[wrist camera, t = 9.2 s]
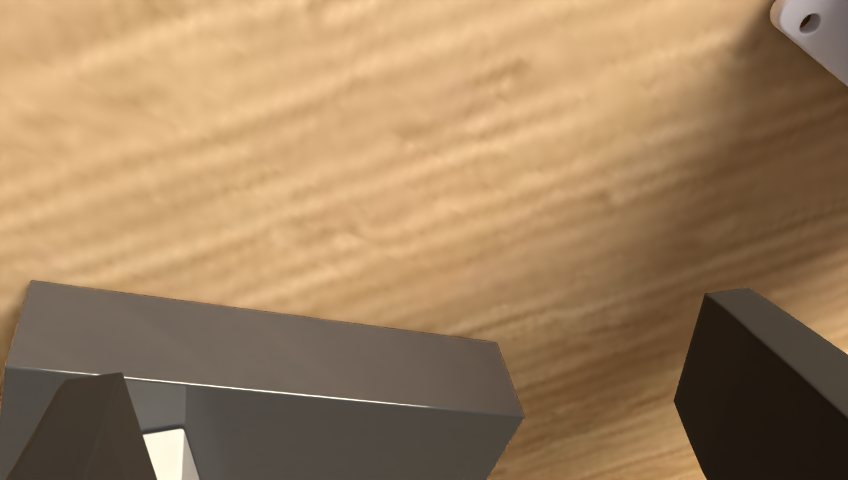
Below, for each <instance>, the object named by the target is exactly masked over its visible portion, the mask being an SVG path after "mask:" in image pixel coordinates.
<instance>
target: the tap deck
mask: <svg viewBox="0 0 848 480" xmlns="http://www.w3.org/2000/svg"><path fill="white" fill-rule="evenodd" d="M118 372H122V373H123V376H124V379H125V382H126V385H127V388H128V391H129V395H130V398H131V401H132V404H133V407H134V410H135V413H136V416H137V419H138V422H139V425H140V428H141V431H142V434H143V435H144V434H150V433H156V432H162V431H169V430H175V429H183V430H184V432H185V435H186V438H187V441H188V444H189V448H190V451H191V454H192V457H193V460H194V464H195V467H196V470H197V473H198V476H199V480H487V479H488V478H489V476H490V474H491V473H492V471H493V469H494V468H495V466H496V464H497V463H498V461H499V460H500V458H501V456H502V455H503V453H504V451H505V450H506V448H507V446H508V445H509V443H510V441H511V440H512V438H513V437H514V435H515V433H516V432H517V430H518V428H519V427H520V425H521V423H522V422H523V420H524V418H525V415H524V413H523V410H522V407H521V405H520V402H519V399H518V397H517V394H516V391H515V389H514V386H513V384H512V381H511V378H510V376H509V373H508V370H507V368H506V365H505V362H504V360H503V357H502V354H501V352H500V349H499V347H498V344H497V343H496V342H491V341H484V340H476V339H469V338H461V337H454V336H446V335H439V334H431V333H424V332H416V331H409V330H401V329H394V328H386V327H379V326H371V325H364V324H356V323H349V322H341V321H334V320H326V319H319V318H311V317H304V316H296V315H289V314H281V313H274V312H266V311H259V310H251V309H244V308H236V307H229V306H221V305H214V304H206V303H199V302H191V301H184V300H176V299H169V298H161V297H154V296H146V295H139V294H131V293H124V292H116V291H109V290H101V289H94V288H86V287H79V286H72V285H64V284H57V283H49V282H42V281H34V280H32V281H30V282H29V285H28V289H27V292H26V295H25V299H24V302H23V305H22V309H21V312H20V315H19V319H18V322H17V325H16V329H15V332H14V335H13V338H12V342H11V345H10V348H9V352H8V355H7V358H6V362H5V365H4V373H3V383H2V394H1V405H0V480H6V478H7V477H8V475H9V473H10V472H11V470H12V468H13V467H14V465H15V463H16V462H17V460H18V458H19V457H20V455H21V453H22V452H23V450H24V448H25V446H26V445H27V443H28V441H29V440H30V438H31V436H32V434H33V433H34V431H35V429H36V427H37V426H38V424H39V422H40V420H41V418H42V417H43V415H44V413H45V411H46V410H47V408H48V406H49V404H50V402H51V401H52V399H53V397H54V395H55V393H56V392H57V390H58V388H59V387H60V386H61V385H62V384H63V383H64V381H65V380H66V379H73V378H80V377H88V376H95V375H103V374H110V373H118Z"/></svg>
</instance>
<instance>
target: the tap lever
mask: <svg viewBox="0 0 848 480" xmlns="http://www.w3.org/2000/svg"><path fill="white" fill-rule="evenodd" d="M143 437H144V440H145V443H146V447H147V450H148V453H149V456H150V459H151V462H152V465H153V468H154V471H155V474H156V477H157V480H199V476H198V473H197V470H196V467H195V464H194V460H193V457H192V454H191V451H190V448H189V444H188V441H187V438H186V435H185V432H184V430H183V429H175V430H169V431H162V432H156V433H150V434H144V435H143Z"/></svg>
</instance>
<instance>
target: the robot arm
mask: <svg viewBox="0 0 848 480" xmlns="http://www.w3.org/2000/svg"><path fill="white" fill-rule="evenodd" d="M810 14H811V18H810V20H809V21H808V23H807V24H806V25H804V26H803V27H801V28H800V24H801V22H802V21H803V19H804V18H805V17H807V16H808V15H810ZM770 20H771V22H772V23H773V25H774V26H775V27H776V28H777V29H779V30H780V31H781V32H782V33H783V34H785V35H786V36H787V37H788V38H789V39H791V40H792V41H793V42H794V43H796V44H797V45H798V46H799V47H800V48H802V49H803V50H804V51H805V52H806V53H808V54H809V55H810V56H811V57H812V58H814V59H815V60H816V61H817V62H818V63H820V64H821V65H822V66H823V67H824V68H826V69H827V70H828V71H829V72H830V73H832V74H833V75H834V76H835V77H837V78H838V79H839V80H840V81H841V82H843V83H844V84H845V85H846V86H847V87H848V0H776V1H775V2H774V4H773V5H772V8H771V11H770ZM674 403H675V406H676V408H677V411H678V413H679V416H680V418H681V421H682V424H683V426H684V429H685V431H686V434H687V436H688V439H689V441H690V444H691V446H692V448H693V450H694V453H695V455H696V457H697V460H698V462H699V464H700V467H701V469H702V471H703V473H704V475H705V477H706V479H707V480H848V355H847V354H846V353H844V352H843V351H842V350H840V349H839V348H837V347H836V346H834V345H833V344H831V343H830V342H829V341H827V340H826V339H824V338H823V337H821V336H820V335H818V334H817V333H816V332H814V331H813V330H811V329H810V328H808V327H807V326H805V325H804V324H803V323H801V322H800V321H798V320H797V319H795V318H794V317H792V316H791V315H789V314H788V313H787V312H785V311H784V310H782V309H781V308H779V307H778V306H776V305H775V304H773V303H772V302H770V301H769V300H767V299H766V298H764V297H763V296H761V295H759V294H758V293H756V292H755V291H753V290H752V289H750V288H742V289H735V290H728V291H720V292H713V293H705V295H704V298H703V302H702V305H701V309H700V312H699V316H698V319H697V322H696V326H695V329H694V333H693V336H692V339H691V343H690V346H689V350H688V353H687V357H686V360H685V363H684V367H683V370H682V374H681V377H680V380H679V384H678V387H677V391H676V394H675V398H674ZM6 480H157V477H156V474H155V471H154V468H153V465H152V462H151V459H150V456H149V453H148V450H147V447H146V443H145V440H144V437H143V434H142V431H141V428H140V425H139V422H138V419H137V416H136V413H135V410H134V407H133V404H132V401H131V398H130V395H129V391H128V388H127V385H126V382H125V379H124V376H123V373H122V372H118V373H110V374H103V375H95V376H88V377H80V378H73V379H66V380H65V381H64V383H63V384H62V385H61V386H60V387H59V388H58V390H57V392H56V393H55V395H54V397H53V399H52V401H51V402H50V404H49V406H48V408H47V410H46V411H45V413H44V415H43V417H42V418H41V420H40V422H39V424H38V426H37V427H36V429H35V431H34V433H33V434H32V436H31V438H30V440H29V441H28V443H27V445H26V446H25V448H24V450H23V452H22V453H21V455H20V457H19V458H18V460H17V462H16V463H15V465H14V467H13V468H12V470H11V472H10V473H9V475H8V477H7V478H6Z"/></svg>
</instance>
